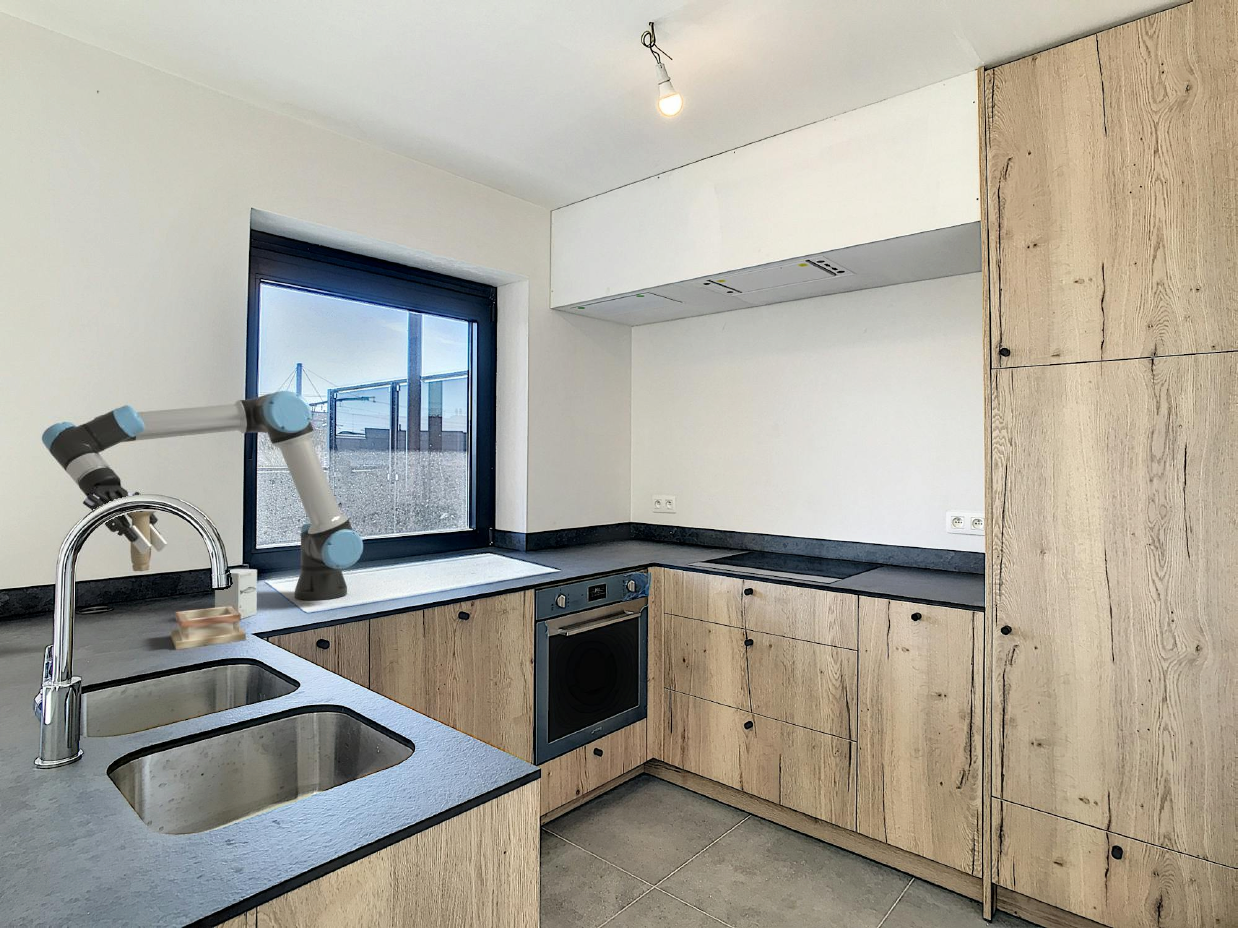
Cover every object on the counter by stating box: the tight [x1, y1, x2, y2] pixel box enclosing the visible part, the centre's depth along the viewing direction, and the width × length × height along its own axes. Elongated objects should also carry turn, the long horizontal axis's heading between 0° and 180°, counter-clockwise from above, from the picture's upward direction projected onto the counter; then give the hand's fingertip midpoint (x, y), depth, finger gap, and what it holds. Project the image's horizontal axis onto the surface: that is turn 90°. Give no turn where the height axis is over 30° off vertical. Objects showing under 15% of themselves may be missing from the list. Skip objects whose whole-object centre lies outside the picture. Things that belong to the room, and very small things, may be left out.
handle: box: [126, 511, 157, 572], centre depth 162 cm, size 5×6×15 cm
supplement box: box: [214, 568, 258, 620], centre depth 188 cm, size 7×7×13 cm
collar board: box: [170, 606, 247, 650], centre depth 166 cm, size 14×14×6 cm
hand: (154, 548), depth 161 cm, fingers closed on handle, 4 cm apart
